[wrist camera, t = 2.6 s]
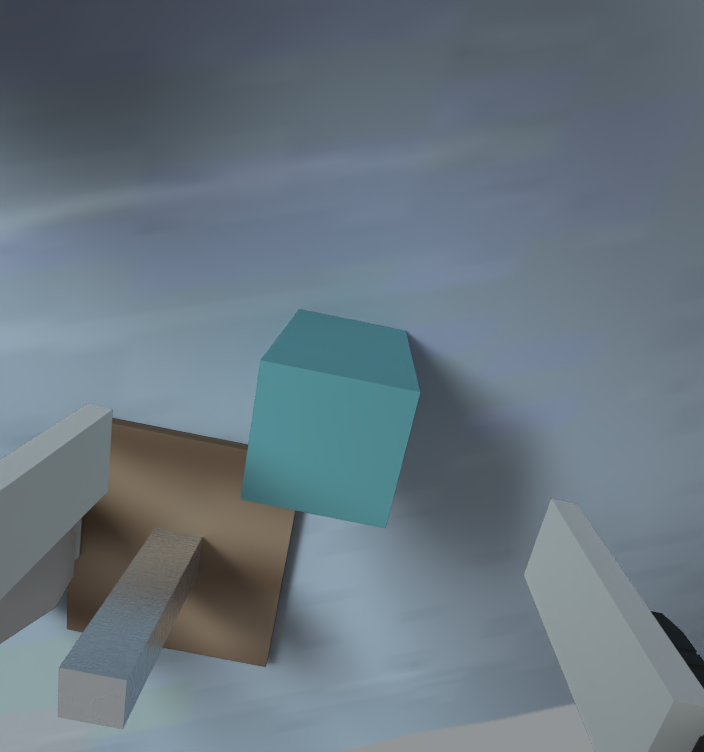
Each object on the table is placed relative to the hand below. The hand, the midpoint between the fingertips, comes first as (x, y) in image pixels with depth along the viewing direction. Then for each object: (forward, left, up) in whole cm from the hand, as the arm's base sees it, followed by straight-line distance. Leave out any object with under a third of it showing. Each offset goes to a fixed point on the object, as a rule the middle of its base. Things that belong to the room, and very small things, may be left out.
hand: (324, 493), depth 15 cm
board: (+12, -7, -11) cm, 17 cm away
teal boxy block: (0, 0, -11) cm, 11 cm away
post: (+12, -7, -11) cm, 17 cm away
